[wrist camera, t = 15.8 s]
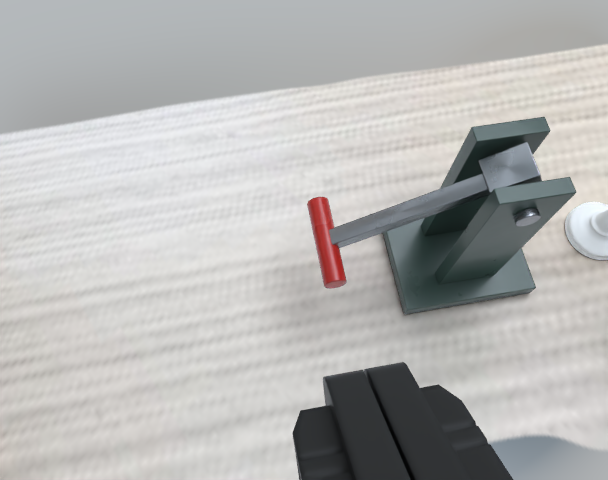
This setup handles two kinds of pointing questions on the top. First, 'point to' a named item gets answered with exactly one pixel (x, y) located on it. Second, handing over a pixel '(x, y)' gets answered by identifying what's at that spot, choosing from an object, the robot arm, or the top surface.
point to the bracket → (476, 230)
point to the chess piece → (589, 229)
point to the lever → (415, 208)
